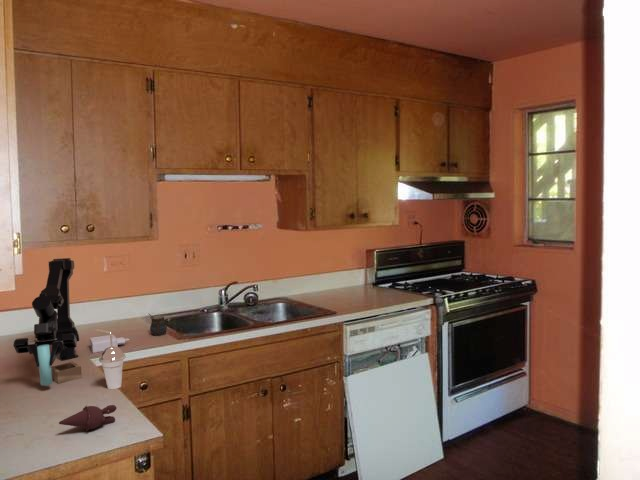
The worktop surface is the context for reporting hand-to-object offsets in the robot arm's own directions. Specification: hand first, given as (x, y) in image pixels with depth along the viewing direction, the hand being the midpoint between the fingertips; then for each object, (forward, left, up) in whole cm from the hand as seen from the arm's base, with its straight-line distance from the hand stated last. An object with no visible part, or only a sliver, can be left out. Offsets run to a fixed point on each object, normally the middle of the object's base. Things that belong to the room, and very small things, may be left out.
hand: (44, 365), depth 184 cm
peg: (-1, +1, -7) cm, 7 cm away
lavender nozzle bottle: (-32, +35, -9) cm, 48 cm away
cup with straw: (+13, +18, -9) cm, 24 cm away
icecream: (+40, -1, -9) cm, 40 cm away
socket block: (-8, +9, -9) cm, 15 cm away
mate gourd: (-34, +58, -9) cm, 68 cm away
